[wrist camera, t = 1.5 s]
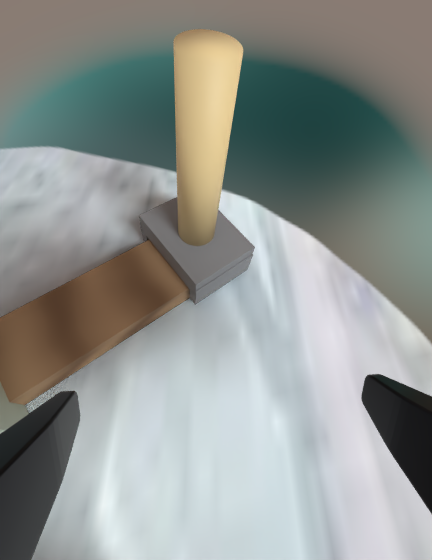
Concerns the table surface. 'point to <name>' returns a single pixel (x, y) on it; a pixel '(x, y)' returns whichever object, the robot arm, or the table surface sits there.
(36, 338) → the rail
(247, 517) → the table surface
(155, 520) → the table surface
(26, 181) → the table surface
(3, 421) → the gauge cabinet
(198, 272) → the grey block with handle
